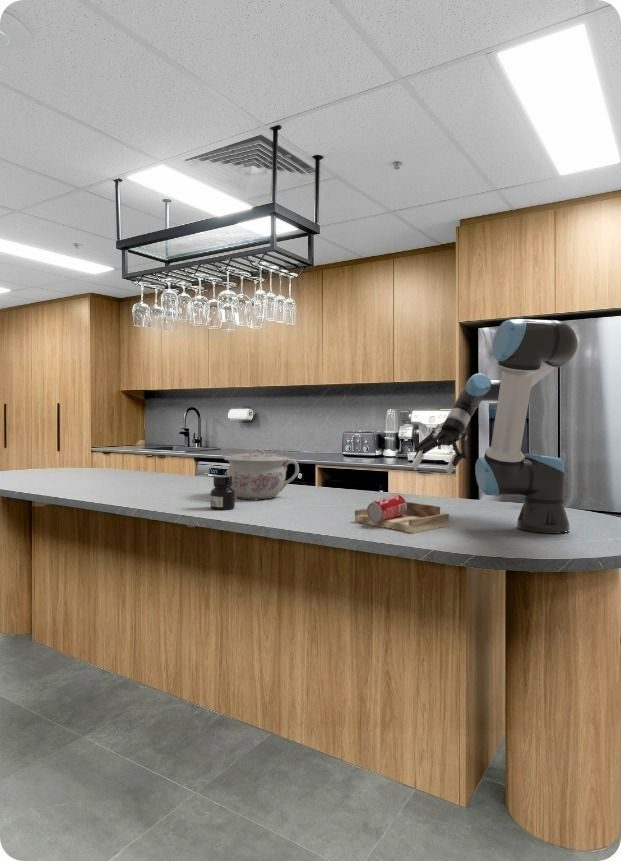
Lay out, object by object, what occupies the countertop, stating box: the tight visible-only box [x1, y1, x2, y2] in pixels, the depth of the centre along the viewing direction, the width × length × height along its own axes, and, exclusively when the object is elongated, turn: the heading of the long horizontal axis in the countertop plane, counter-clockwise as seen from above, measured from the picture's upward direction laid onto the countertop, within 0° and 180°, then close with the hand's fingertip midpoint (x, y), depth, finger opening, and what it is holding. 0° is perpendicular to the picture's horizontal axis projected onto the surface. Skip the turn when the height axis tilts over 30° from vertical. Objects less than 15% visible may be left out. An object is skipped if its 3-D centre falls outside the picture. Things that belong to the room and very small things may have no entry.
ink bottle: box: [209, 474, 236, 511], centre depth 220 cm, size 10×9×12 cm
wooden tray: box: [354, 501, 450, 534], centre depth 193 cm, size 24×18×6 cm
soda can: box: [366, 494, 407, 522], centre depth 192 cm, size 7×7×13 cm
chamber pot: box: [223, 447, 300, 500], centre depth 249 cm, size 28×28×21 cm
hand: (430, 469), depth 202 cm, fingers open, 13 cm apart
